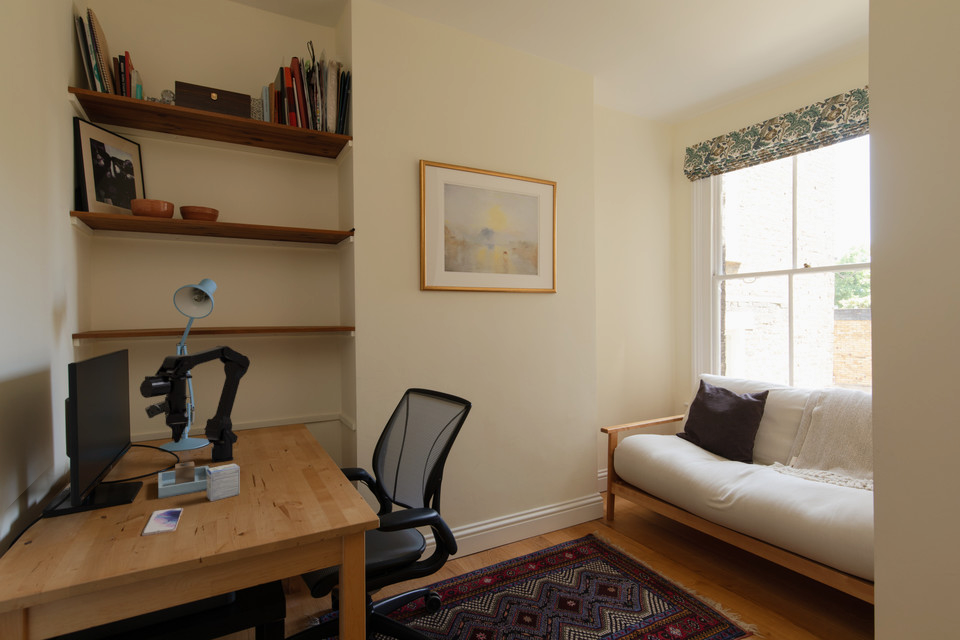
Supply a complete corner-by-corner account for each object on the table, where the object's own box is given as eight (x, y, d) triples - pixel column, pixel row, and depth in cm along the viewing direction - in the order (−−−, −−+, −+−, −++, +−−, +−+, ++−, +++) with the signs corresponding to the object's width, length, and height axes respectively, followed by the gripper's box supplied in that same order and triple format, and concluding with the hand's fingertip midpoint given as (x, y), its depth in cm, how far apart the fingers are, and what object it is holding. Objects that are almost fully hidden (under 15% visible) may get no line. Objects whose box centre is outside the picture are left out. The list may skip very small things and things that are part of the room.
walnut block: (193, 479, 154) (193, 461, 154) (194, 484, 150) (194, 465, 150) (175, 482, 151) (175, 463, 151) (175, 487, 147) (175, 467, 147)
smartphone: (183, 507, 133) (175, 529, 119) (183, 510, 133) (175, 533, 119) (153, 510, 130) (140, 533, 116) (152, 514, 130) (140, 537, 116)
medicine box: (235, 490, 146) (235, 462, 146) (239, 494, 143) (240, 466, 143) (206, 497, 141) (206, 468, 141) (210, 502, 138) (210, 472, 138)
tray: (208, 474, 161) (208, 465, 161) (212, 489, 148) (213, 479, 148) (158, 482, 153) (158, 473, 153) (158, 498, 140) (158, 488, 140)
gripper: (147, 391, 163) (147, 436, 163) (146, 399, 147) (146, 449, 147) (185, 388, 169) (185, 432, 169) (188, 396, 154) (188, 444, 154)
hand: (176, 439), depth 160 cm, fingers open, 9 cm apart
